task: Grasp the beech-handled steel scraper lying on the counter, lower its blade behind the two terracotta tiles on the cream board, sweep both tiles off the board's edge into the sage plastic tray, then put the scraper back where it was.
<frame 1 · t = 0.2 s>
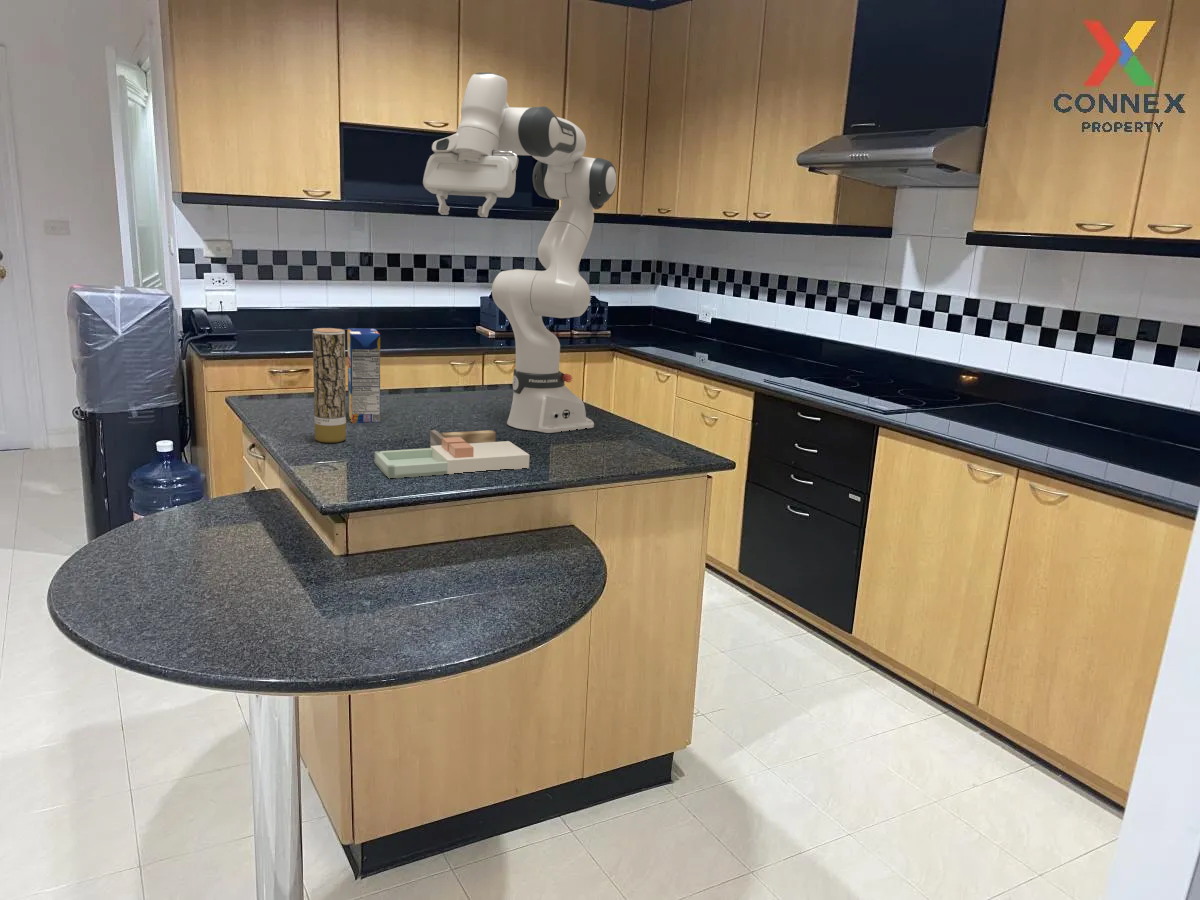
hand: (462, 215, 182), 51 cm above the worktop, tool tilted 20°, fingers open, 8 cm apart
tile 1: (453, 448, 190), point 3 cm above the worktop, touching board
scraper: (439, 451, 199), on the worktop
paper tube: (330, 440, 202), on the worktop
tile 2: (461, 454, 185), point 3 cm above the worktop, touching board
board: (479, 463, 191), on the worktop
tray: (410, 468, 184), on the worktop
beverage box: (363, 419, 224), on the worktop
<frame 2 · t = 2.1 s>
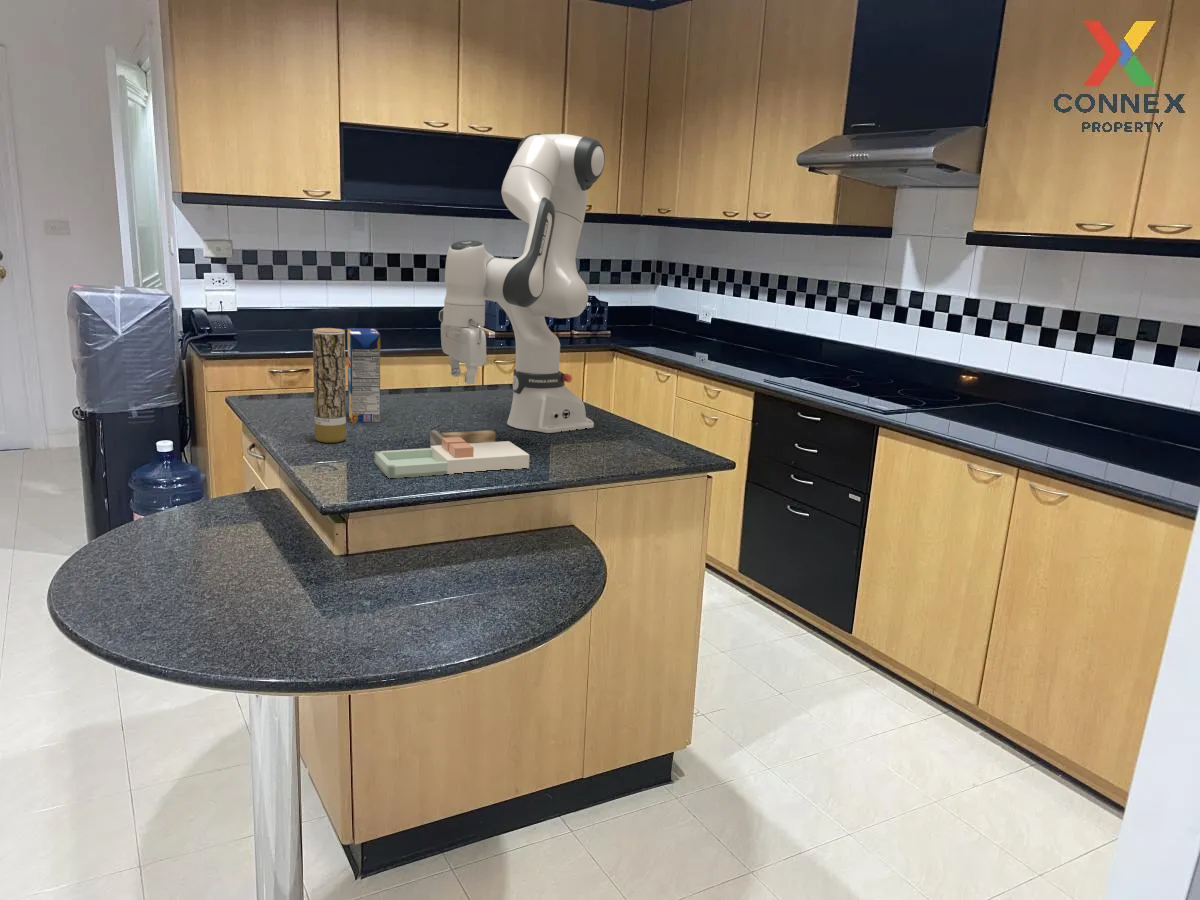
hand: (462, 379, 197), 16 cm above the worktop, tool pointing down, fingers open, 8 cm apart
nothing on the worktop moved.
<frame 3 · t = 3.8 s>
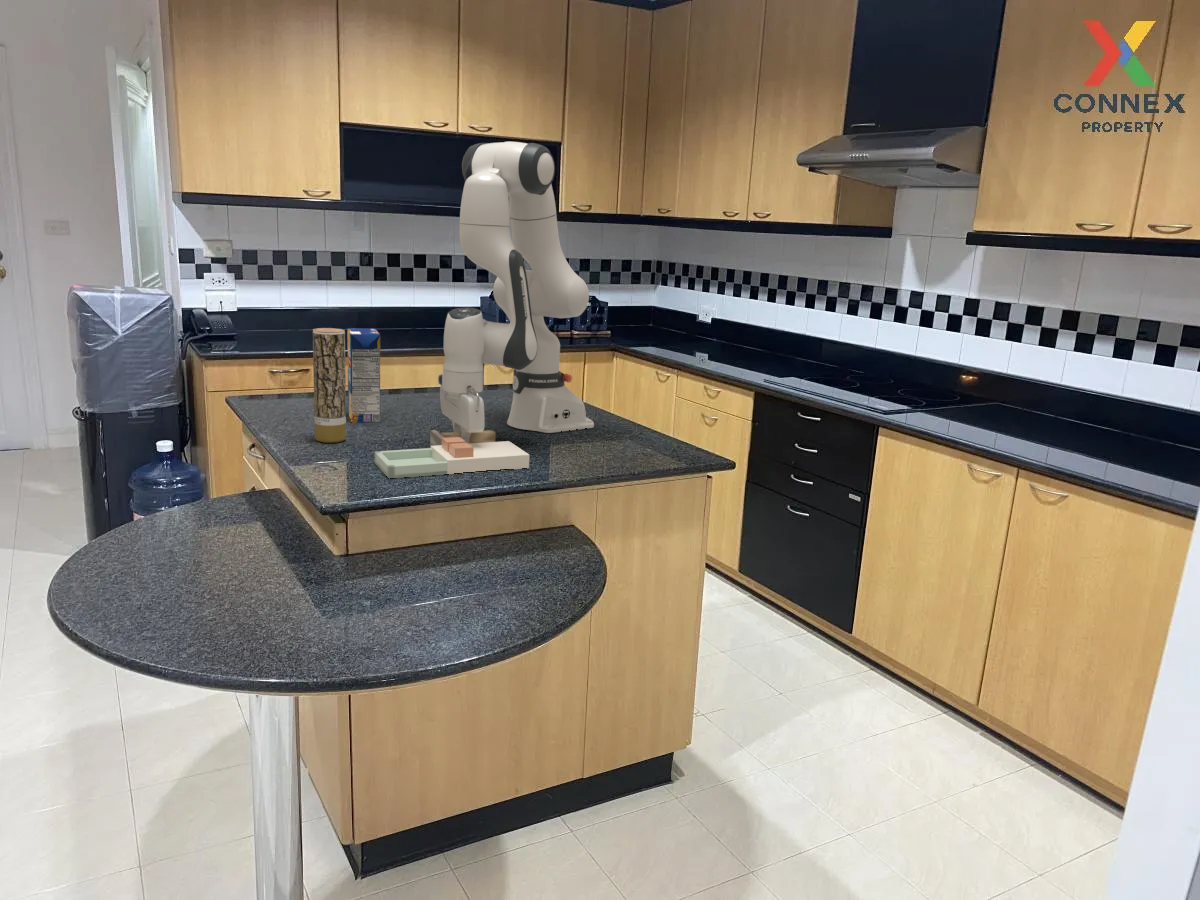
hand: (461, 442, 200), 2 cm above the worktop, tool pointing down, fingers closed on scraper, 2 cm apart
scraper: (439, 451, 199), on the worktop, touching gripper
everything else where it was.
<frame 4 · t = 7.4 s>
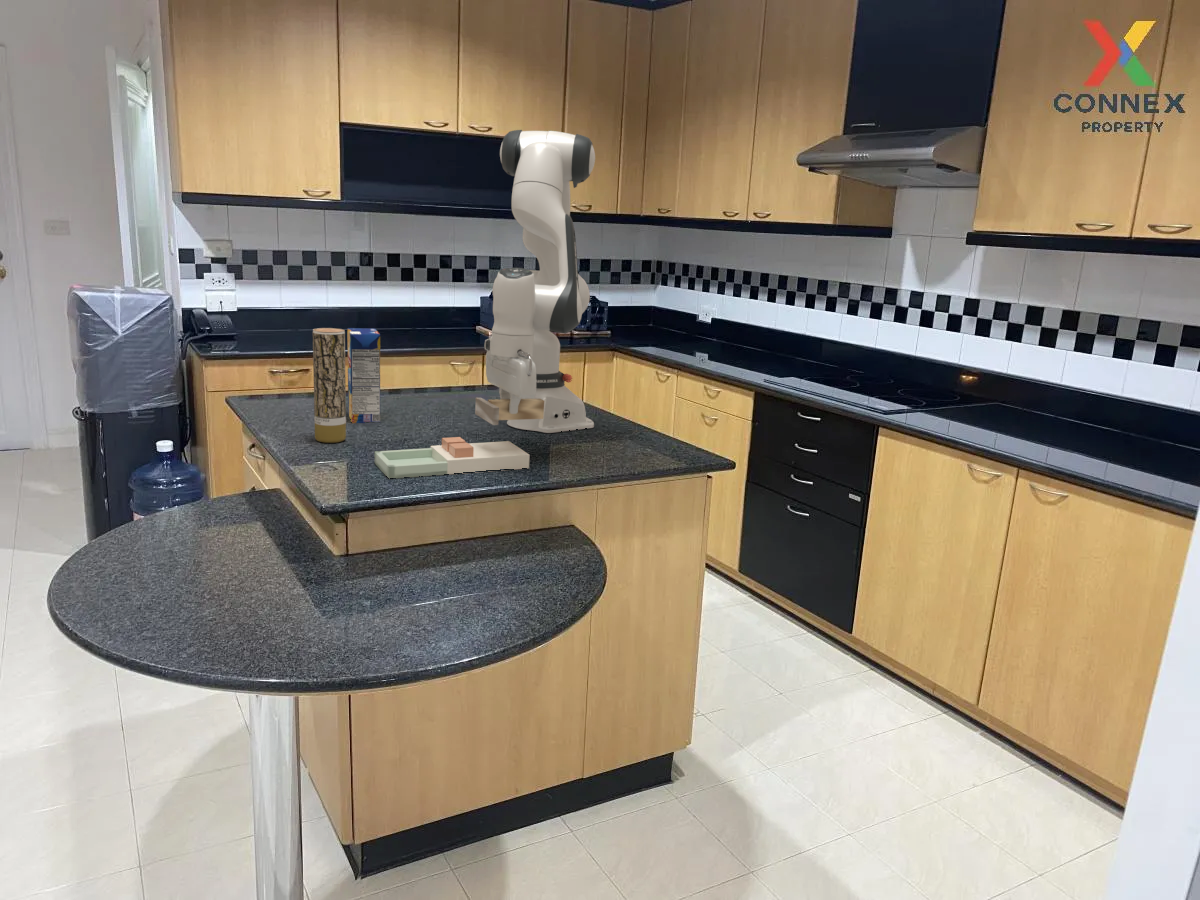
hand: (509, 411, 190), 11 cm above the worktop, tool pointing down, fingers closed on scraper, 2 cm apart
scraper: (486, 419, 188), point 10 cm above the worktop, touching gripper
everything else where it was.
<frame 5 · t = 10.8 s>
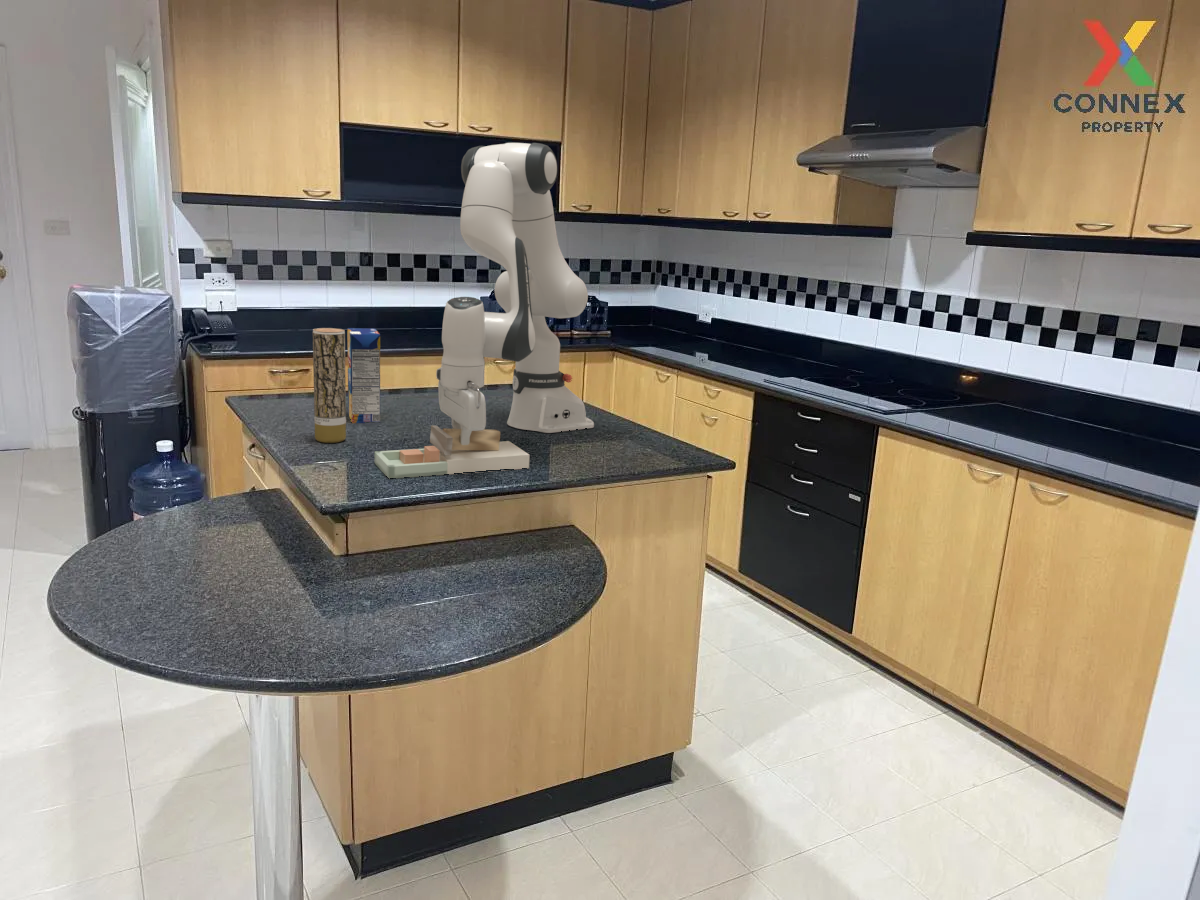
hand: (461, 441, 187), 5 cm above the worktop, tool pointing down, fingers closed on scraper, 2 cm apart
tile 1: (411, 452, 186), point 3 cm above the worktop, tilted 180°, touching tray
scraper: (440, 448, 186), point 4 cm above the worktop, touching gripper
tile 2: (436, 457, 183), point 3 cm above the worktop, tilted 90°, touching tray
everything else where it was.
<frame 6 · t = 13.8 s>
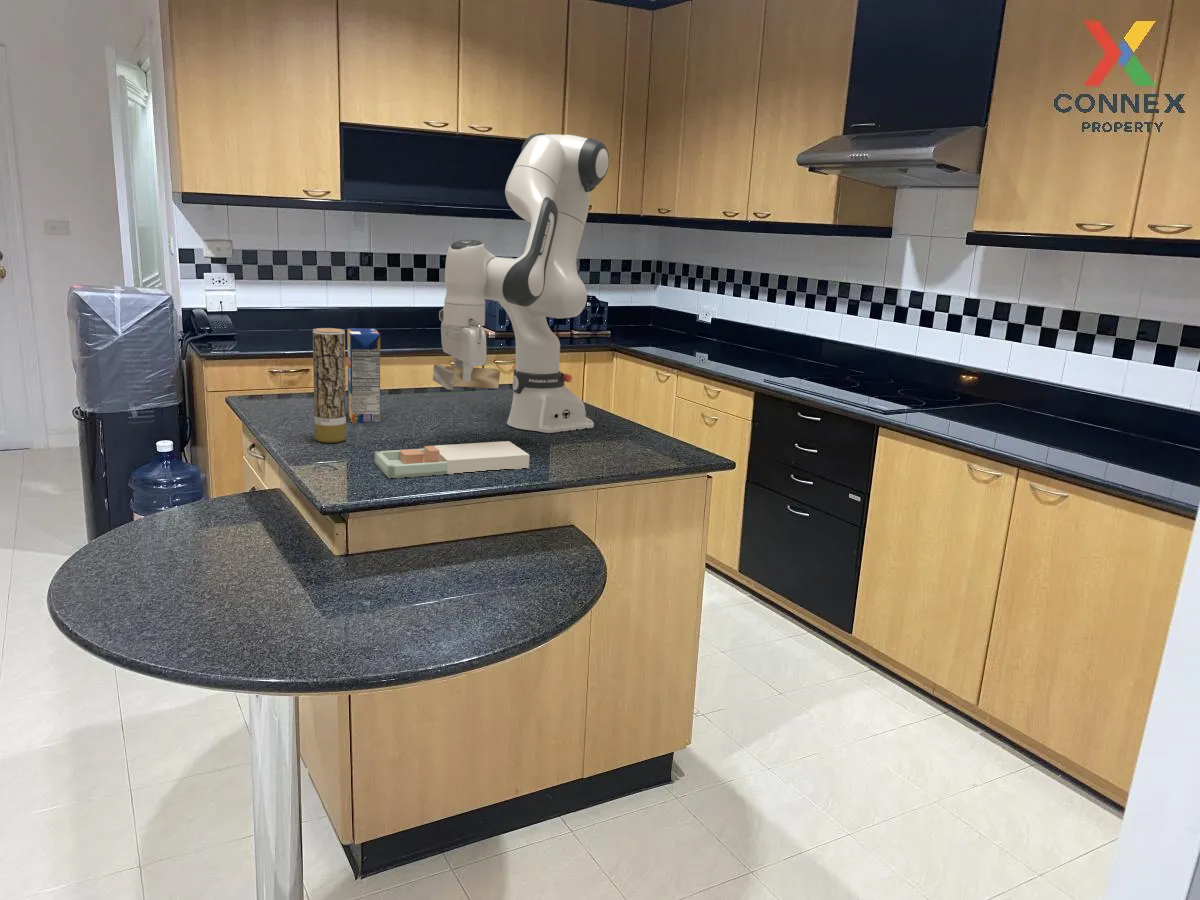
hand: (462, 379, 197), 16 cm above the worktop, tool pointing down, fingers closed on scraper, 2 cm apart
scraper: (442, 384, 195), point 15 cm above the worktop, touching gripper
everything else where it was.
when the fingers open (3 cm above the worktop, at t = 16.3 s): scraper drops 2 cm, on the worktop.
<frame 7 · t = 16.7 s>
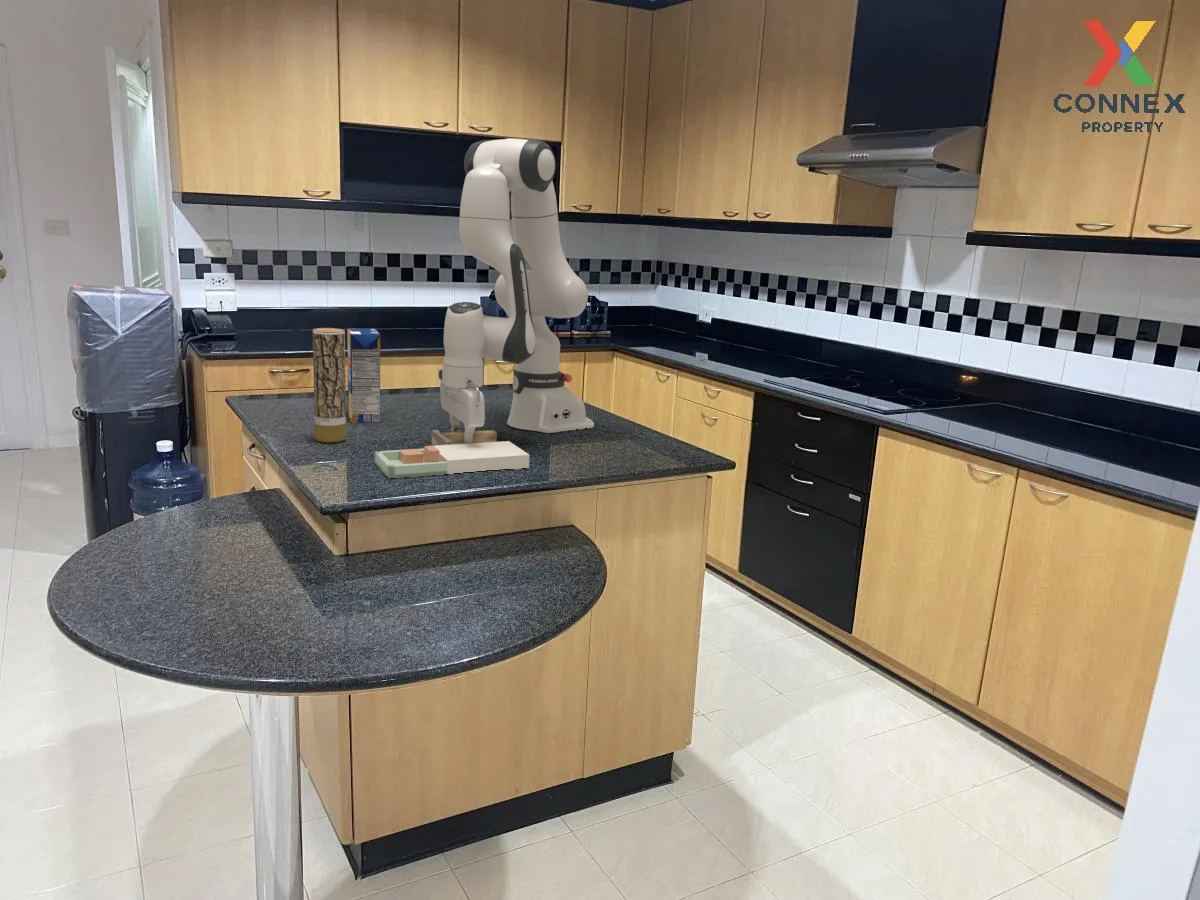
hand: (461, 437, 200), 3 cm above the worktop, tool pointing down, fingers open, 7 cm apart
scraper: (441, 451, 199), on the worktop
everything else where it was.
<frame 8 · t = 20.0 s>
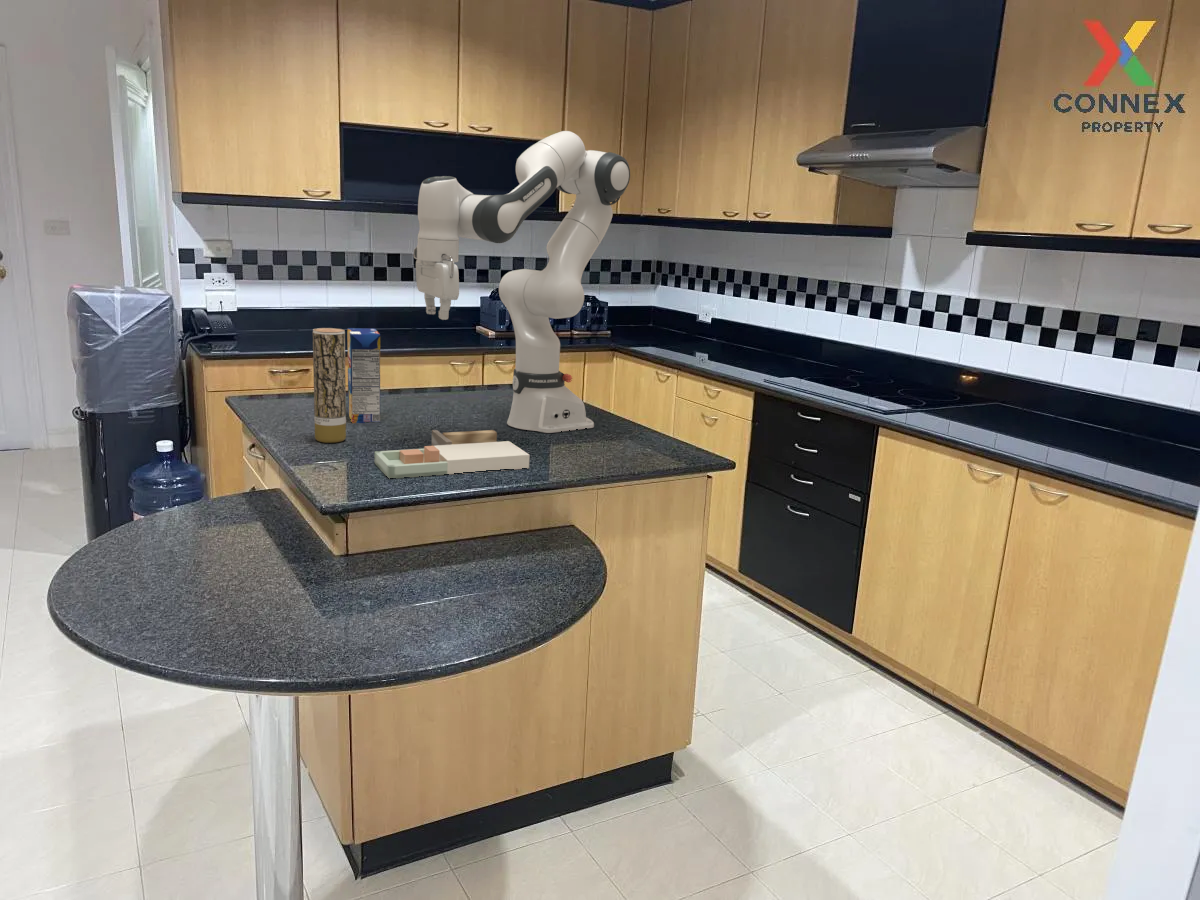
hand: (437, 316, 198), 29 cm above the worktop, tool pointing down, fingers open, 8 cm apart
nothing on the worktop moved.
at the end: tile 1 inside the target area on the tray (3.0 cm from its centre), point 2.8 cm above the tray's base; tile 2 inside the target area on the tray (5.7 cm from its centre), point 2.8 cm above the tray's base; the gripper is holding nothing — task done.
